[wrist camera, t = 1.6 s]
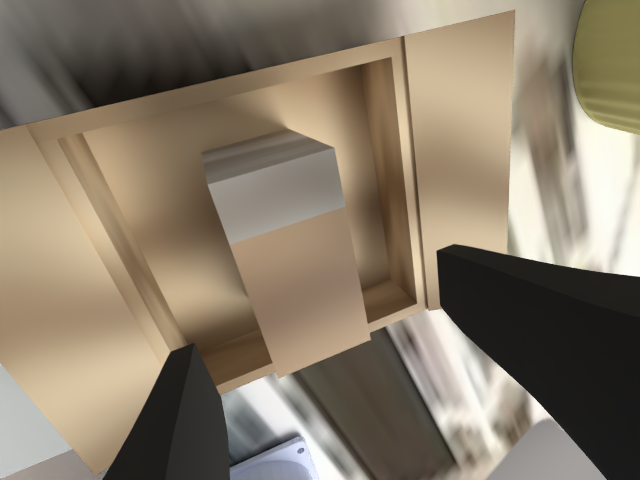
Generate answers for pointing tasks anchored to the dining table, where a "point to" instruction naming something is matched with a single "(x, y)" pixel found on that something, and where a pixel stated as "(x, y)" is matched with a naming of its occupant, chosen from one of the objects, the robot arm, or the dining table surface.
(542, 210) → the dining table surface
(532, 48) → the dining table surface
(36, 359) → the carton
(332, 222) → the block
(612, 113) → the potted cactus
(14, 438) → the grey mat
